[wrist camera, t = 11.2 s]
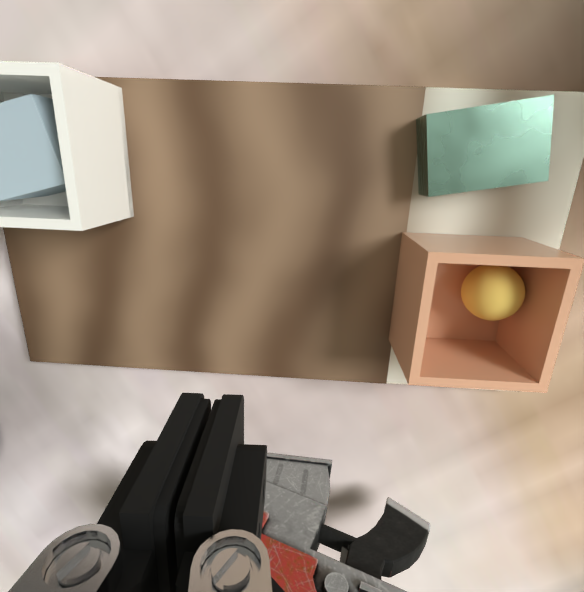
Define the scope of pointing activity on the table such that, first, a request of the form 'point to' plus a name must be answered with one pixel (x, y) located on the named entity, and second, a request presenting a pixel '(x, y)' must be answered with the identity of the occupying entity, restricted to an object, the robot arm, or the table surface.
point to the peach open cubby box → (469, 328)
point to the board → (268, 229)
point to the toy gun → (330, 534)
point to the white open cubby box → (74, 149)
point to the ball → (493, 292)
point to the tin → (484, 146)
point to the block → (29, 149)
